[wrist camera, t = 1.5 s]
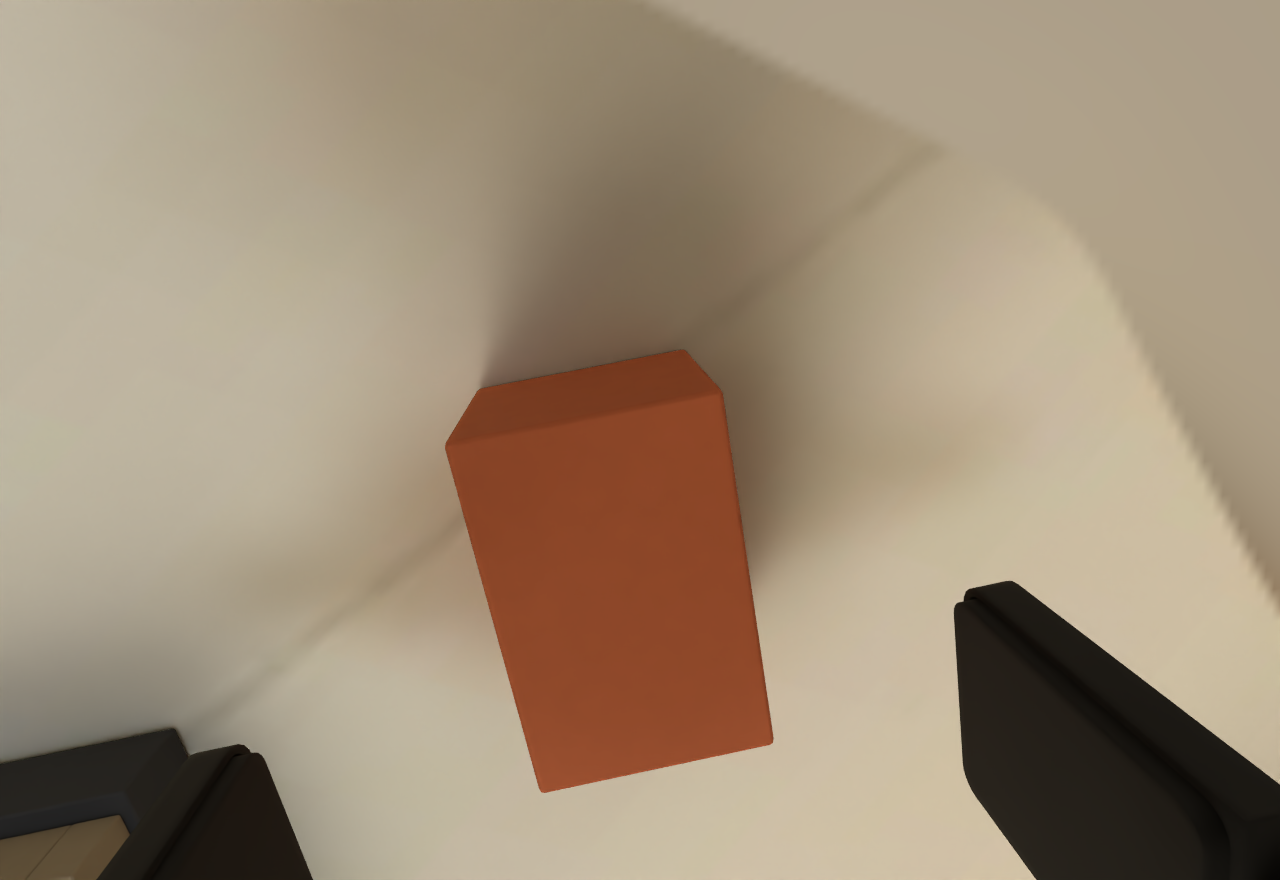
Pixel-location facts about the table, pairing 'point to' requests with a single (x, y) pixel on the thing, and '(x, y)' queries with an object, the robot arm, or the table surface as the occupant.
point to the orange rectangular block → (614, 566)
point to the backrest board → (80, 805)
